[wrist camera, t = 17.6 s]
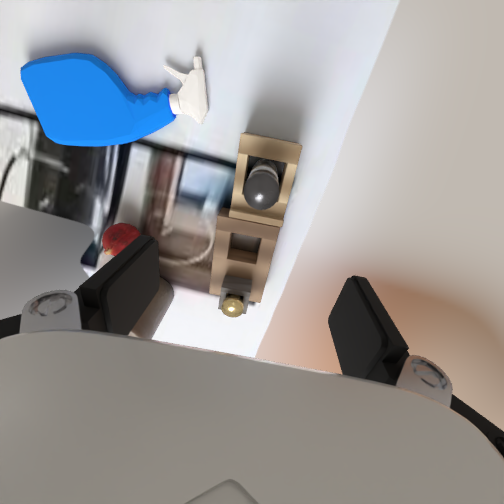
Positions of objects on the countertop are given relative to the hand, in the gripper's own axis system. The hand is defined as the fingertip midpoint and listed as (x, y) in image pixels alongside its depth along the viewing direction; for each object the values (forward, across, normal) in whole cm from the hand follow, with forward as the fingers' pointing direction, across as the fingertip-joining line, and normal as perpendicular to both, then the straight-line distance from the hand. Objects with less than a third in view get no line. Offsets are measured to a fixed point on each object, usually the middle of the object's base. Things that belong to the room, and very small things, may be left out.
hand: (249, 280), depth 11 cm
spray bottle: (+29, +22, -6) cm, 37 cm away
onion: (+28, +22, +15) cm, 39 cm away
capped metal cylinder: (+28, 0, 0) cm, 28 cm away
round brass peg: (+23, +1, +20) cm, 31 cm away
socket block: (+28, +1, +15) cm, 32 cm away
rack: (+28, 0, 0) cm, 28 cm away
